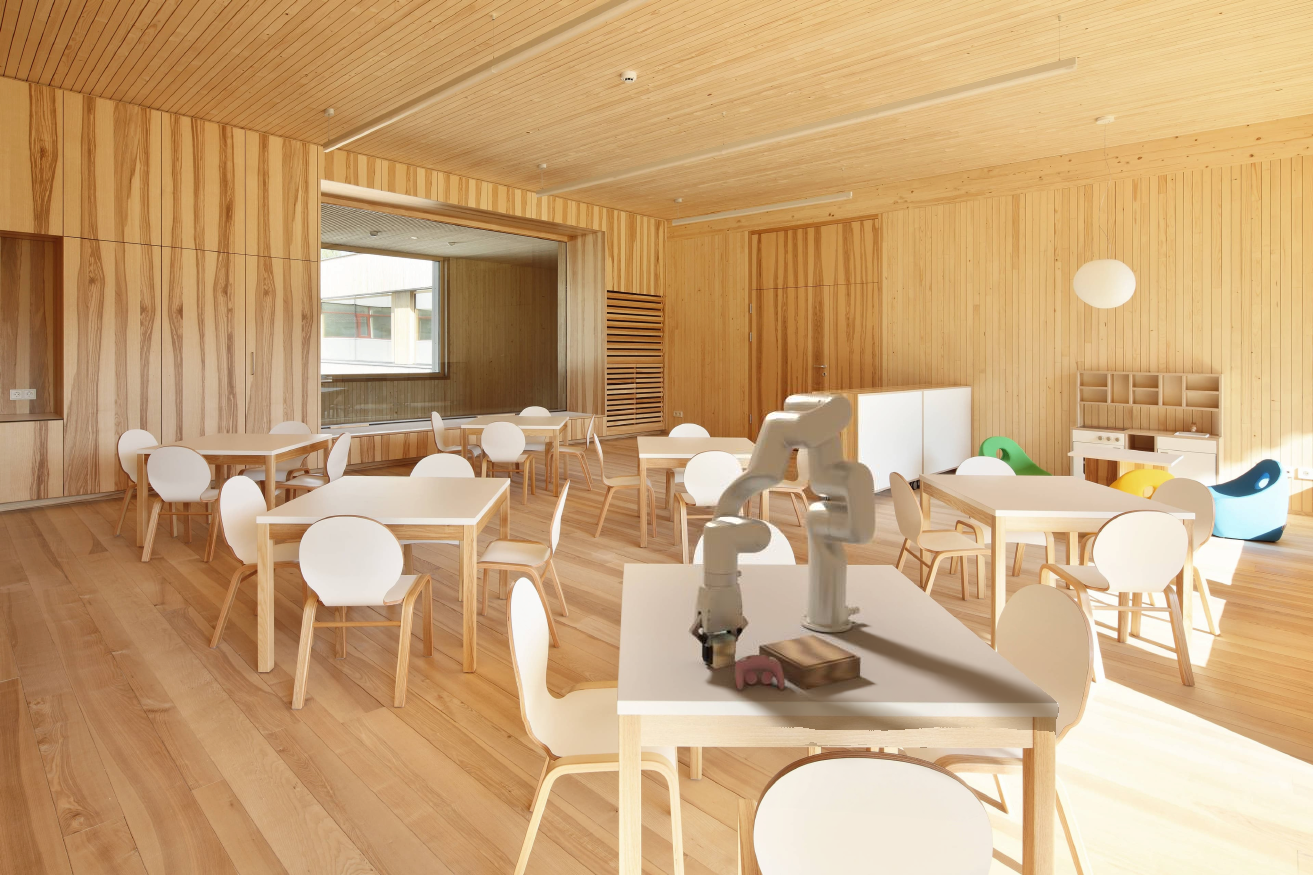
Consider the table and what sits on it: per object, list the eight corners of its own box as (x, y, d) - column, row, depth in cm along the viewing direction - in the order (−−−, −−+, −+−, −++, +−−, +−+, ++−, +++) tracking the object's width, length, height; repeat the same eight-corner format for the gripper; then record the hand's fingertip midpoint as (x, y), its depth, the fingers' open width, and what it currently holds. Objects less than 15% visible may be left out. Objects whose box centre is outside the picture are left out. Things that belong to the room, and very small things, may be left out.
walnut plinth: (812, 652, 164) (813, 633, 164) (859, 675, 151) (860, 655, 150) (758, 663, 157) (759, 644, 157) (803, 689, 144) (803, 668, 143)
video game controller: (782, 691, 147) (779, 655, 149) (787, 689, 142) (784, 652, 145) (734, 691, 146) (732, 655, 149) (737, 690, 142) (735, 653, 145)
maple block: (722, 656, 161) (722, 629, 160) (735, 664, 156) (735, 637, 156) (702, 660, 158) (703, 633, 158) (715, 668, 154) (715, 640, 154)
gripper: (742, 570, 163) (741, 648, 165) (677, 578, 155) (676, 661, 157) (762, 578, 157) (760, 659, 158) (695, 587, 149) (694, 673, 150)
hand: (718, 659), depth 157 cm, fingers closed on maple block, 5 cm apart
